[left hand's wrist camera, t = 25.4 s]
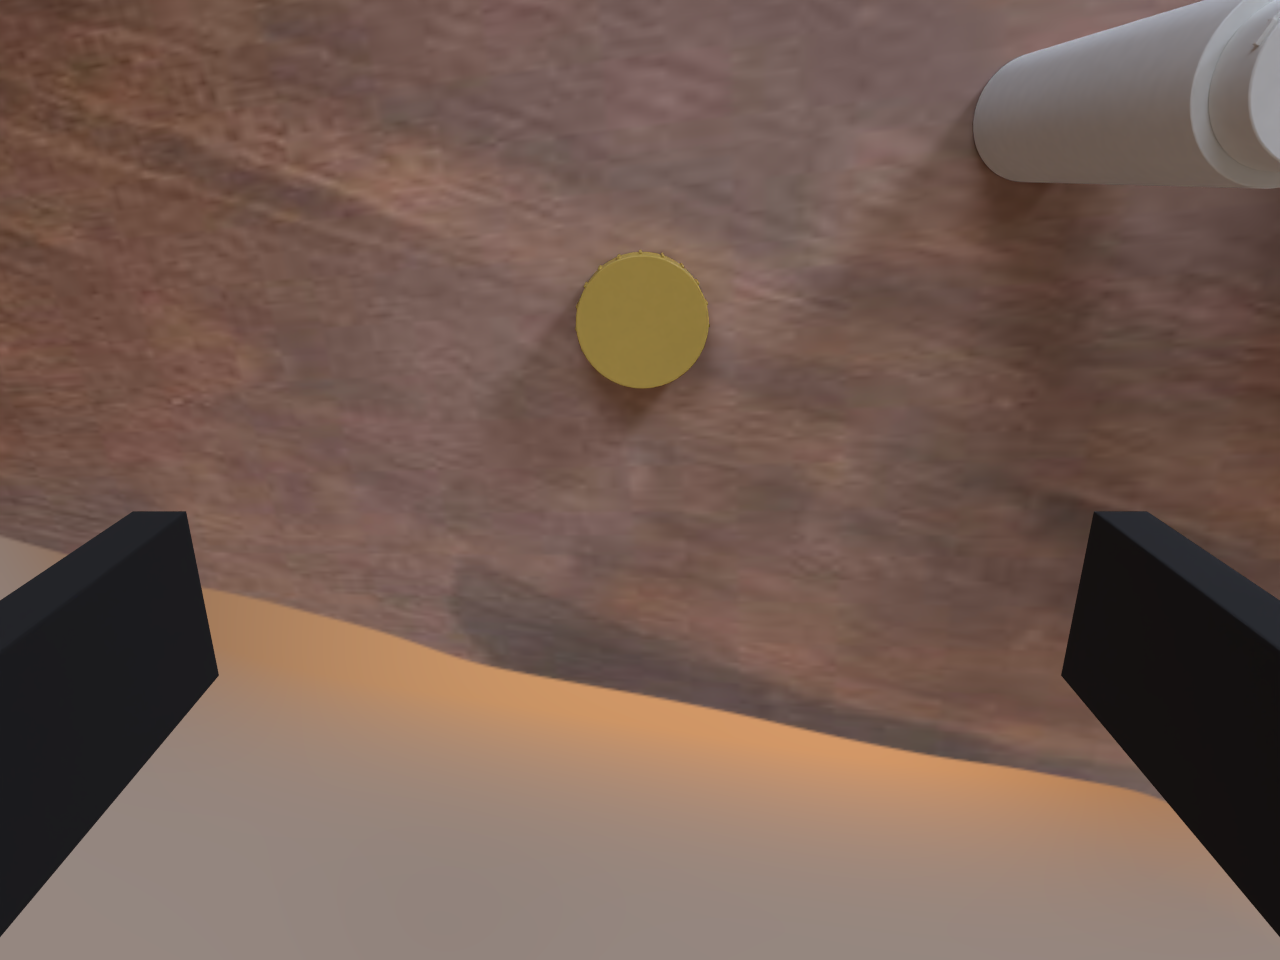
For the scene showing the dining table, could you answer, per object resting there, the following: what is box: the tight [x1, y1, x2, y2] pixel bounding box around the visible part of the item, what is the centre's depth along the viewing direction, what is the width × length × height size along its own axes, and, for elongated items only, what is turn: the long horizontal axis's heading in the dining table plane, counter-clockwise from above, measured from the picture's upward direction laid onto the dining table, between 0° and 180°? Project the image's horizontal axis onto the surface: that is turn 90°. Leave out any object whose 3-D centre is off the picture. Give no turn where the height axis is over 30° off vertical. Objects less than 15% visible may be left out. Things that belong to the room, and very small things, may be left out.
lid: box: [575, 250, 710, 389], centre depth 37 cm, size 6×6×2 cm
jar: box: [973, 0, 1280, 189], centre depth 27 cm, size 5×5×16 cm
